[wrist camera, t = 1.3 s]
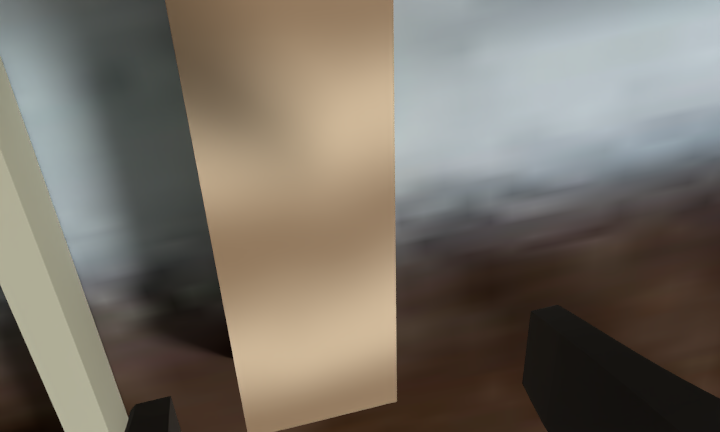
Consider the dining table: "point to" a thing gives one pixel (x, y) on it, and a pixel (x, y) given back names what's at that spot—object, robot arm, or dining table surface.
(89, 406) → the peg frame
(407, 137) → the dining table surface
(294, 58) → the board
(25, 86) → the dining table surface
